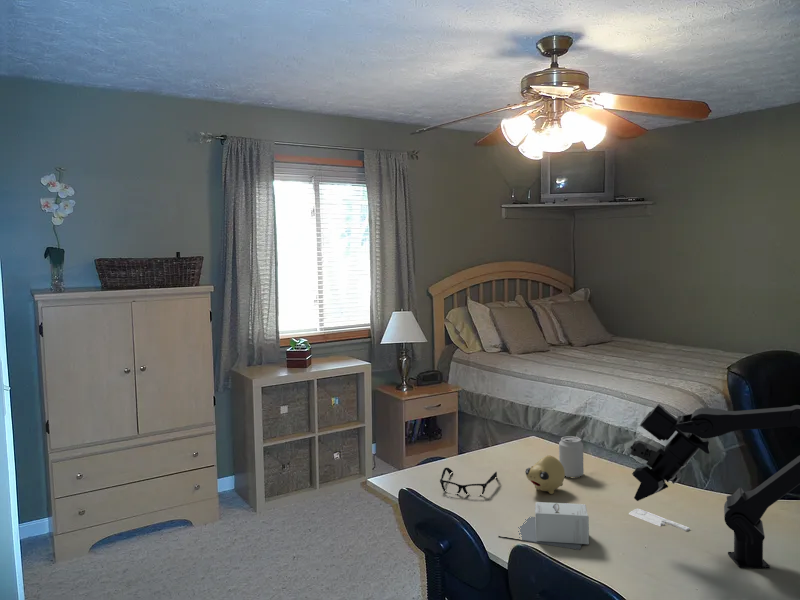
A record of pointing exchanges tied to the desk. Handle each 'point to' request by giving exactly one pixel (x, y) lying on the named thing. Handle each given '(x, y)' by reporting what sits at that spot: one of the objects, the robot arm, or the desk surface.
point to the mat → (530, 535)
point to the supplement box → (562, 523)
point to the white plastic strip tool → (655, 519)
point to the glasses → (465, 485)
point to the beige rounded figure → (546, 474)
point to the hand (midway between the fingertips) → (636, 499)
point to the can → (571, 456)
